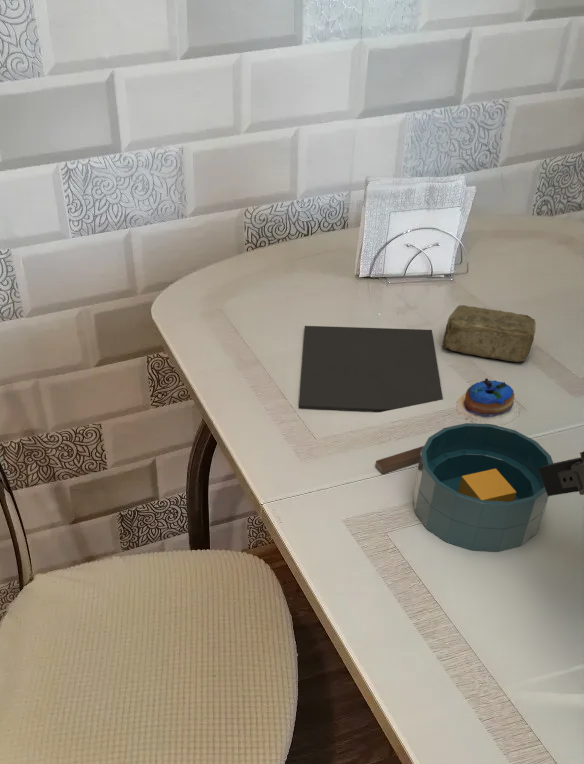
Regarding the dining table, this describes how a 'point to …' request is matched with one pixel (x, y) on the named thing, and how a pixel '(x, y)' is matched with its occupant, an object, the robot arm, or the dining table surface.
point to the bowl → (471, 515)
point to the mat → (368, 369)
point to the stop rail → (398, 461)
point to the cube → (487, 486)
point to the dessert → (488, 403)
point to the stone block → (489, 333)
